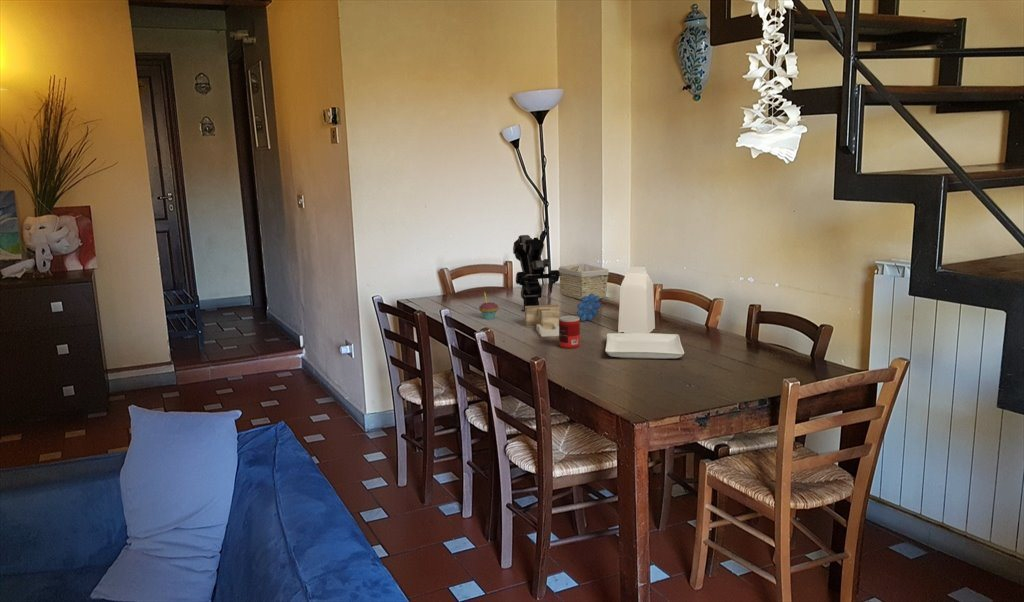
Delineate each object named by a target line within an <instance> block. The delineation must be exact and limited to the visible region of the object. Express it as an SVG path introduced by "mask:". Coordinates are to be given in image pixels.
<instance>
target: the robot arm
mask: <svg viewBox="0 0 1024 602" xmlns="http://www.w3.org/2000/svg"><path fill="white" fill-rule="evenodd" d="M544 246H545V244H544V242H543V241H542V240H540V239H539V237H533V238H532V237H530V235H528V234H523V235H522V234H521V235H518V239H516V240H515V241H514V243H513V247H512V253H513V255H514V257H515V259H516V260H517V261H519V263H520V267H521V271H517V273H516V275H515V284H517V285H519V286H521V289H520V298H521V299H523V309H521V312H525V306H540V300H539V299H540V298H542V291H543V287H542V285H541V284H540V281H539V280H544V279H546V280H547V279H548V287H549V293H550V294H552V291H553V286H554V284H556V283H557V282H559V281H560V272H559V271H558V270H559V269H550V270H549V273H545V271H546V270H545V269H546V268H548V267H550V262H549V259H548V258H545V259H542V257H541V256H542V254H543V251H544V250H543V249H544Z"/></svg>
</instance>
